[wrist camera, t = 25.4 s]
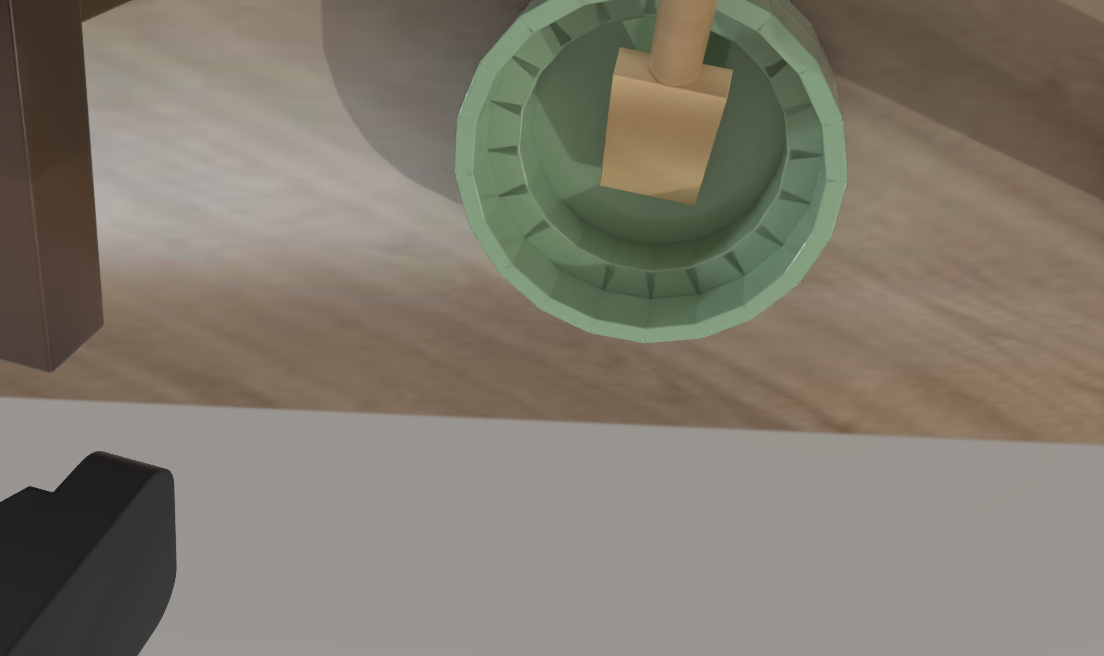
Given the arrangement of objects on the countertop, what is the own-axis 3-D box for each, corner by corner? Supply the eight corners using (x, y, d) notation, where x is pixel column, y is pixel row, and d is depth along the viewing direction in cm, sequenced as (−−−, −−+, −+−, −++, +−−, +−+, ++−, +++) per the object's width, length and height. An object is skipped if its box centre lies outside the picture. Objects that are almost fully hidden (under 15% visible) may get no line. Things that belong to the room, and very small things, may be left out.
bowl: (425, 51, 45) (383, 93, 40) (744, -132, 39) (741, -109, 34) (590, 321, 51) (571, 387, 46) (890, 200, 45) (906, 261, 40)
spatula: (831, -246, 24) (840, -299, 25) (655, -277, 25) (670, -328, 25) (694, 206, 45) (702, 169, 45) (599, 185, 45) (608, 149, 46)
